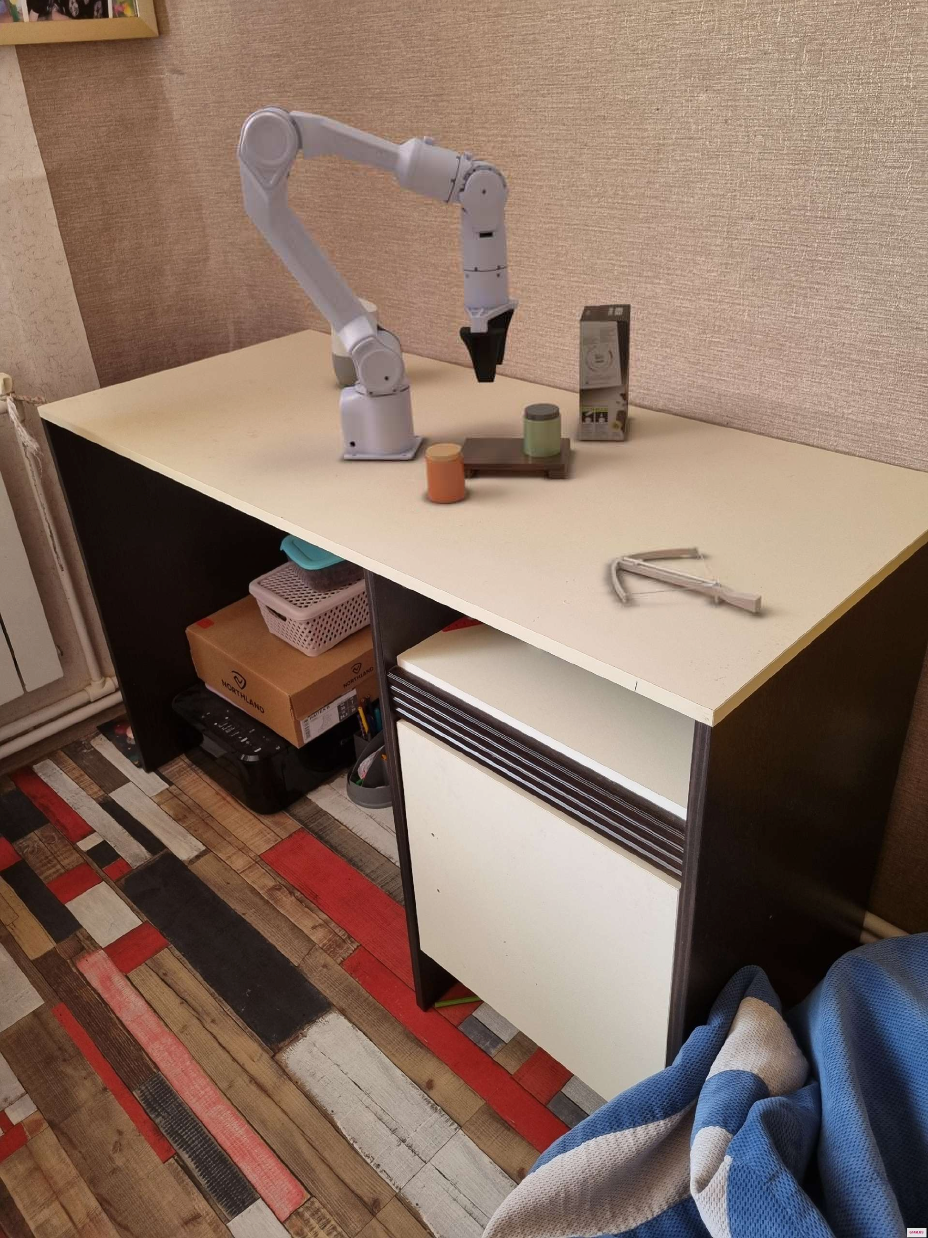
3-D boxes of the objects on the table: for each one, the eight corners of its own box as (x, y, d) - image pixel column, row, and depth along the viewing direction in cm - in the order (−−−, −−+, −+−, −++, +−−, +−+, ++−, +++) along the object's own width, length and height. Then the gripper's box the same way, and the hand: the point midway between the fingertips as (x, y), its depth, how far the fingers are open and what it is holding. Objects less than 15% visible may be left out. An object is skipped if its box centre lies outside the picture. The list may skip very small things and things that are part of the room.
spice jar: (425, 503, 115) (420, 456, 112) (432, 487, 119) (428, 442, 116) (462, 503, 114) (458, 456, 111) (468, 488, 118) (465, 442, 115)
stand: (455, 477, 121) (453, 463, 120) (467, 451, 128) (466, 437, 127) (564, 478, 118) (564, 463, 117) (570, 451, 126) (570, 437, 125)
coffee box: (625, 441, 128) (628, 319, 119) (577, 440, 129) (577, 320, 121) (629, 418, 135) (632, 302, 127) (584, 417, 137) (584, 303, 128)
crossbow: (580, 595, 95) (579, 577, 94) (652, 549, 102) (652, 531, 101) (721, 640, 85) (721, 620, 84) (791, 585, 92) (792, 566, 91)
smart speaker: (388, 389, 154) (379, 301, 147) (332, 393, 154) (320, 305, 147) (393, 372, 162) (384, 287, 155) (339, 375, 162) (328, 291, 155)
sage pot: (521, 457, 120) (520, 415, 117) (526, 443, 124) (525, 402, 121) (559, 457, 119) (559, 415, 116) (563, 443, 123) (562, 402, 120)
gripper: (508, 278, 113) (513, 389, 120) (523, 254, 125) (526, 356, 132) (450, 280, 114) (458, 390, 121) (471, 255, 126) (477, 357, 133)
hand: (490, 372), depth 127 cm, fingers open, 7 cm apart
